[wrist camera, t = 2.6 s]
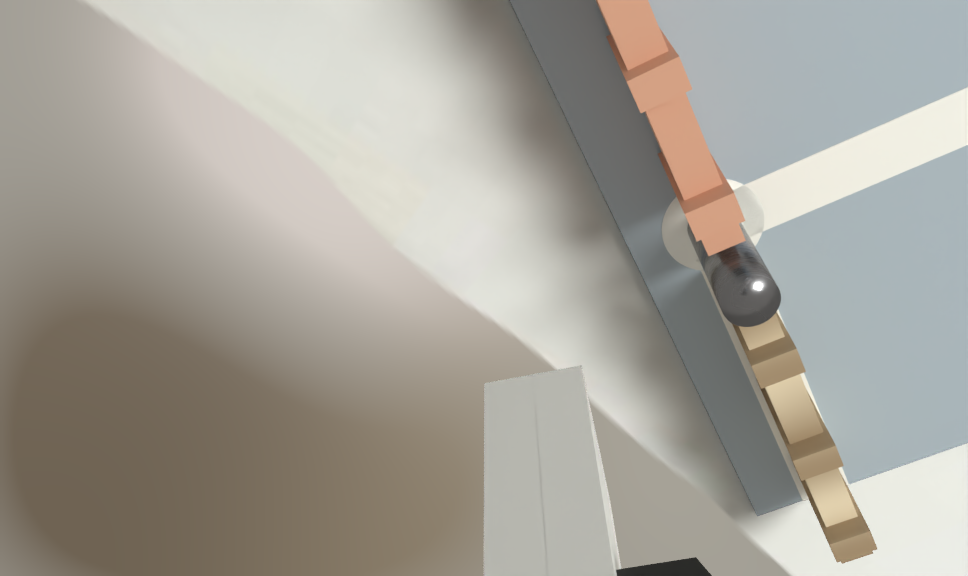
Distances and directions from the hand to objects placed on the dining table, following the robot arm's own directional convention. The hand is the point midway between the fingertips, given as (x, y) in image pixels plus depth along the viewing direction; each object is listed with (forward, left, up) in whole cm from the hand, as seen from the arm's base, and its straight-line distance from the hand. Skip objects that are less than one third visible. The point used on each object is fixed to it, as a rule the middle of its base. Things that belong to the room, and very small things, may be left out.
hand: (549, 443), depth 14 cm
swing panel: (0, +4, -17) cm, 18 cm away
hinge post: (+7, +4, -18) cm, 20 cm away
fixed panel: (+15, +4, -18) cm, 23 cm away
